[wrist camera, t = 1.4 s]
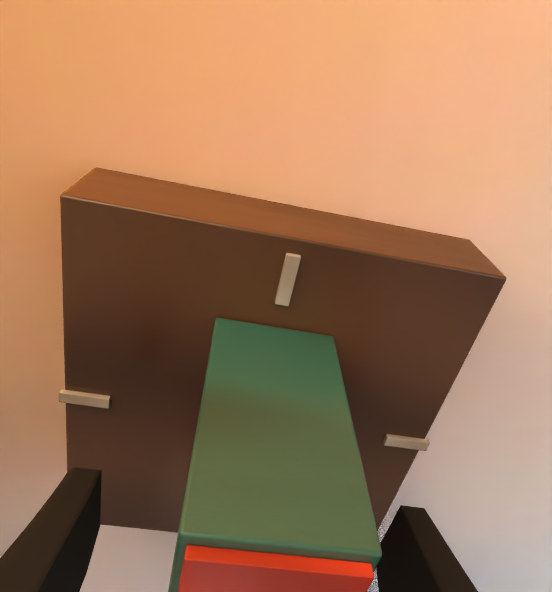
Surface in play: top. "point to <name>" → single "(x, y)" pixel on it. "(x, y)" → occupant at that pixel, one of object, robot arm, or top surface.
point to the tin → (274, 471)
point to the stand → (254, 309)
